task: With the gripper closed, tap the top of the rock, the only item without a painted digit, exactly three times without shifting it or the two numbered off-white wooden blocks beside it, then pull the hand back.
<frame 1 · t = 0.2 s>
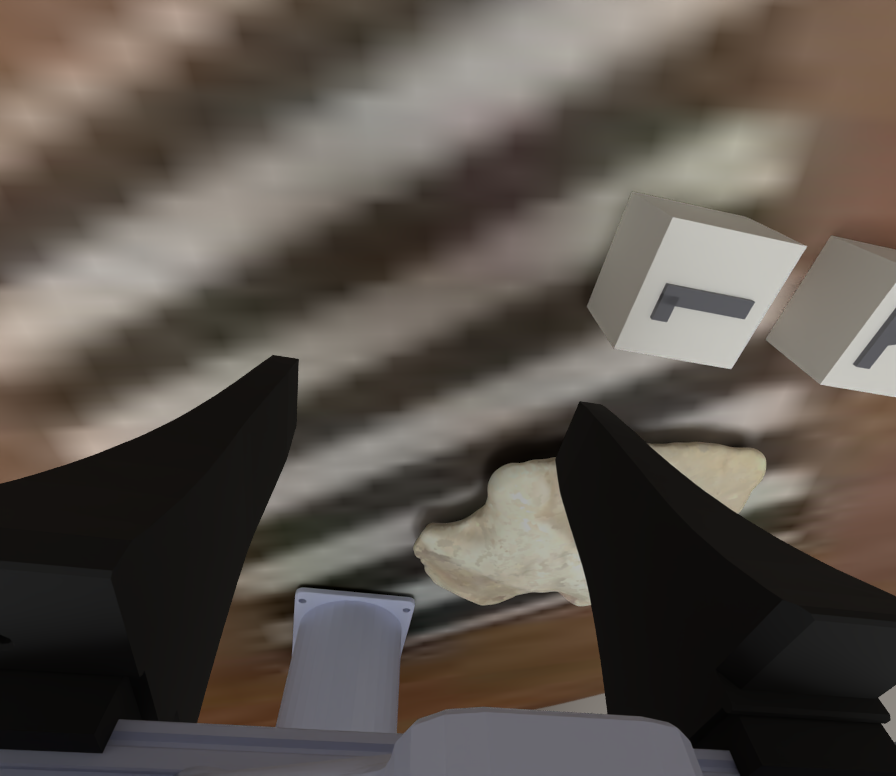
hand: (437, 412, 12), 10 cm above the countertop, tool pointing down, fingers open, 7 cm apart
rock: (574, 502, 29), on the countertop
digit one block: (661, 262, 21), on the countertop
digit seven block: (842, 299, 22), on the countertop
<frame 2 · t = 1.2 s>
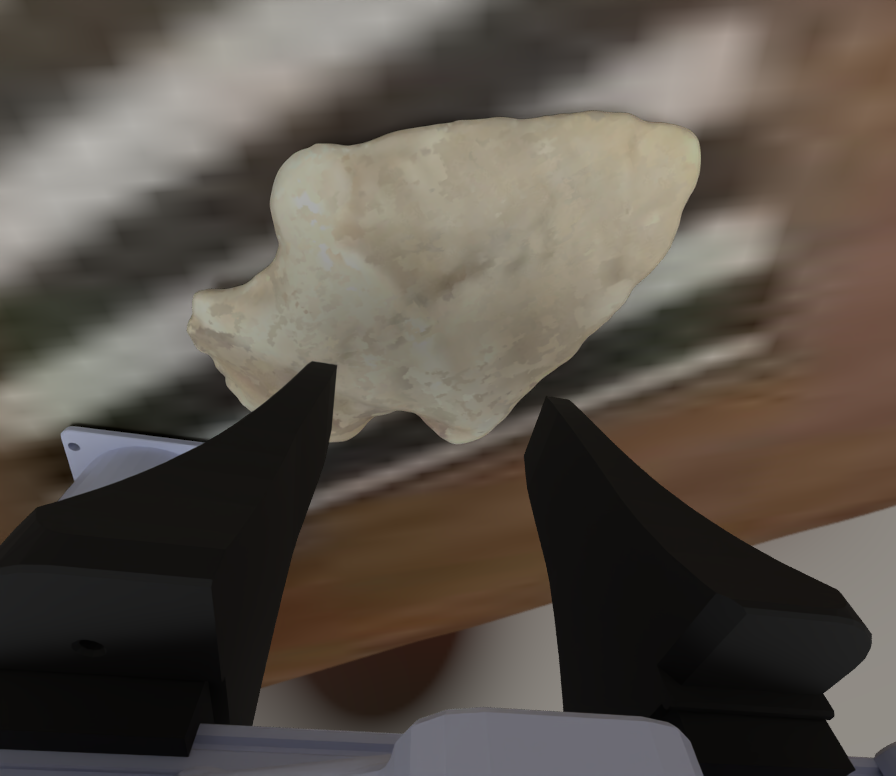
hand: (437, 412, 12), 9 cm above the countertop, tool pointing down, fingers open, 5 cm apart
rock: (437, 279, 20), on the countertop
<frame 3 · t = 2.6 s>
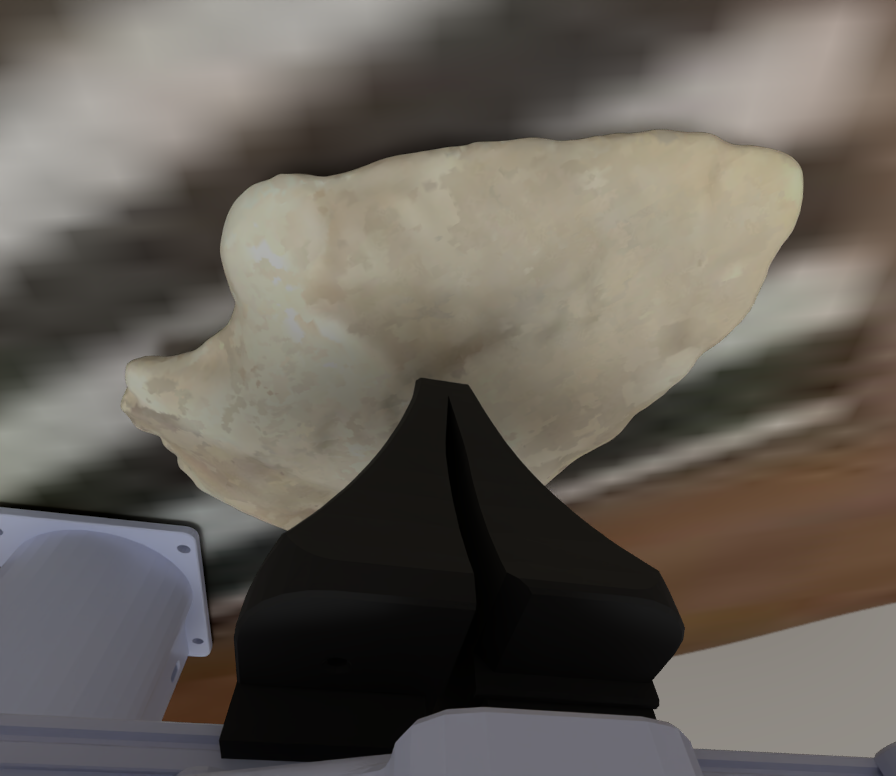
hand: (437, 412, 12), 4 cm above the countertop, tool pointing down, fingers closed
rock: (443, 336, 16), on the countertop
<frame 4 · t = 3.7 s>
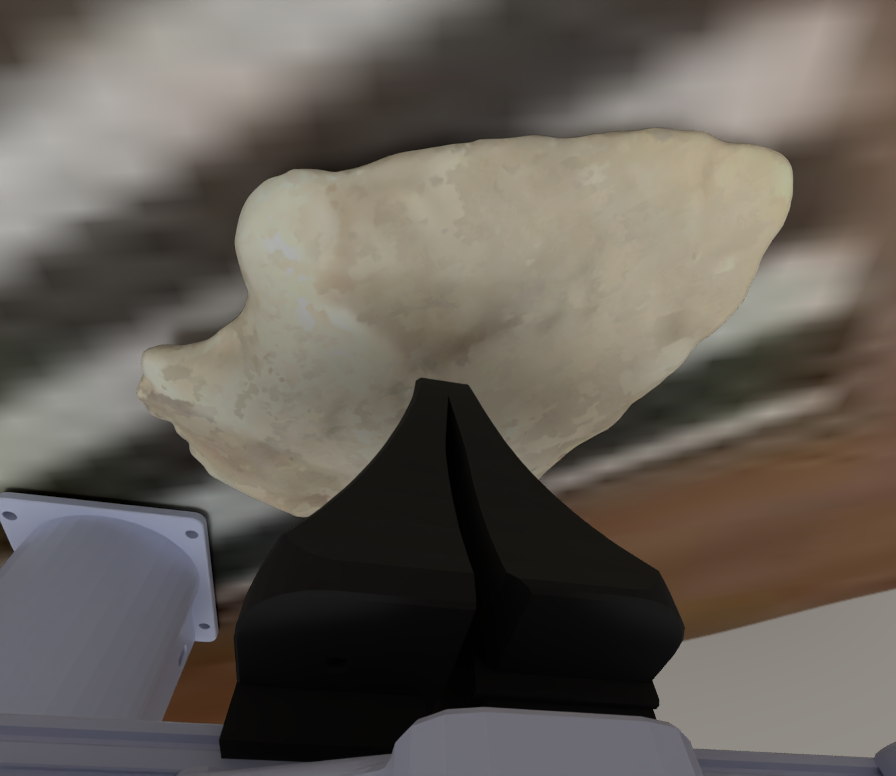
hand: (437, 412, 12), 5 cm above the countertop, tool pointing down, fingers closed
rock: (446, 327, 17), on the countertop
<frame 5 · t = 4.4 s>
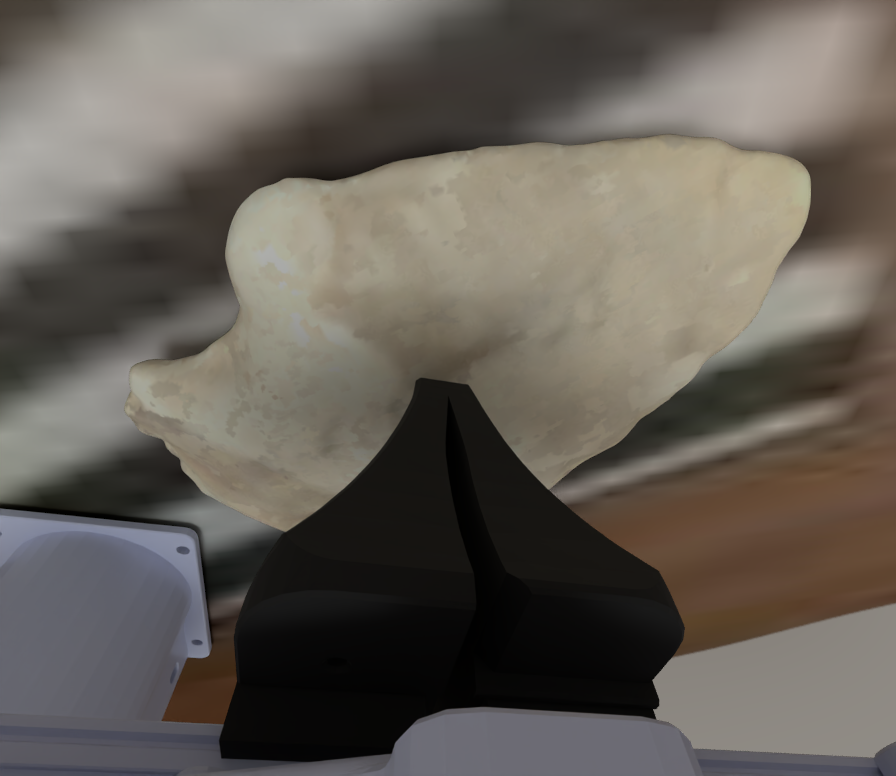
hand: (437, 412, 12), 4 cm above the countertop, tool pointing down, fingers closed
rock: (447, 339, 16), on the countertop
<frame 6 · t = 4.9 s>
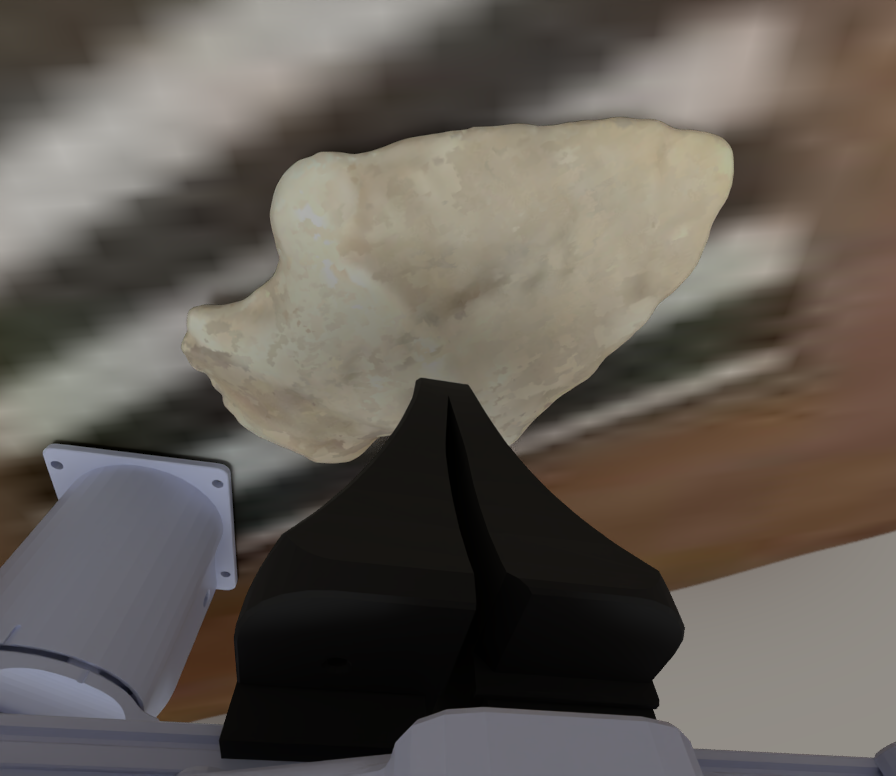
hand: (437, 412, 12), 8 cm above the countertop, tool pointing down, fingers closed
rock: (447, 293, 19), on the countertop
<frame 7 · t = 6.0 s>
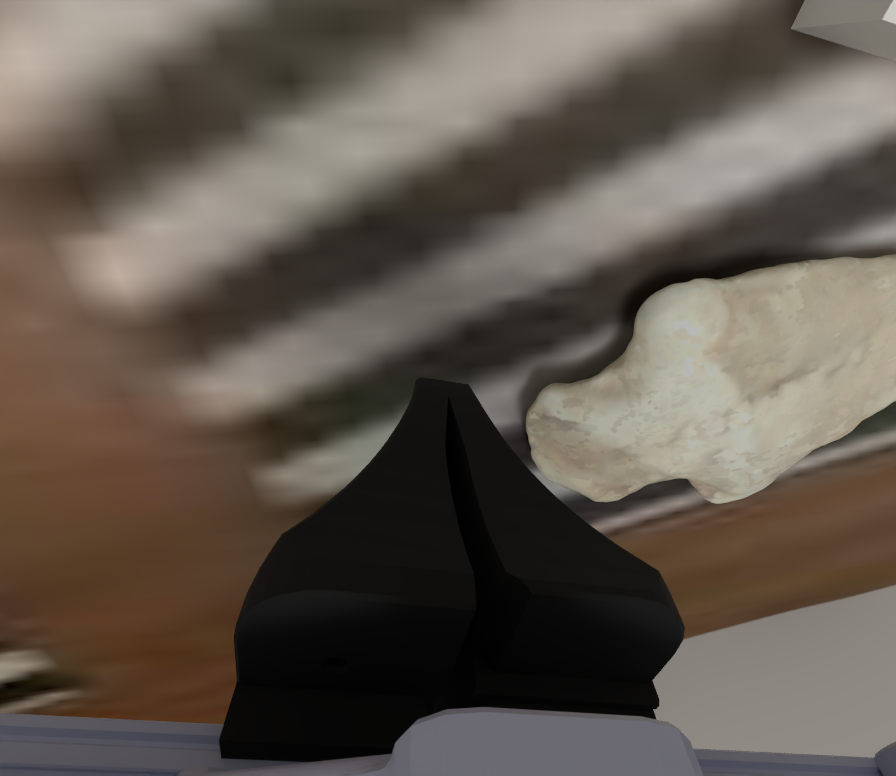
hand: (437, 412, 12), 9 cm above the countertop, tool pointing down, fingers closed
rock: (718, 367, 24), on the countertop
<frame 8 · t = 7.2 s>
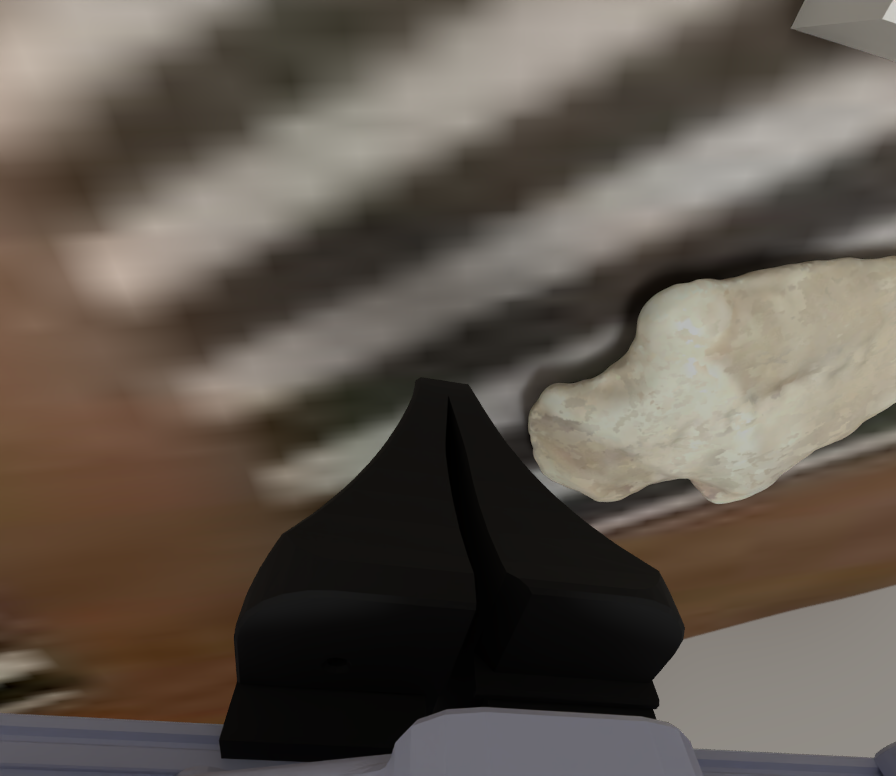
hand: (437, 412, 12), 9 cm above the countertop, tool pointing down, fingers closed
rock: (720, 367, 24), on the countertop
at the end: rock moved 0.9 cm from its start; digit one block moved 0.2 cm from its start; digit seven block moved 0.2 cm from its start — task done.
